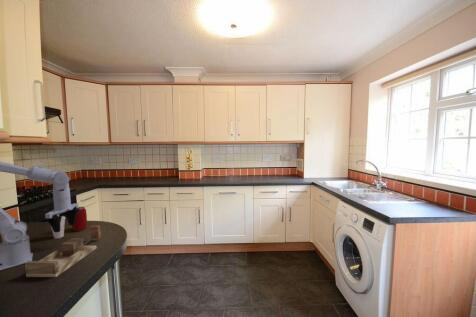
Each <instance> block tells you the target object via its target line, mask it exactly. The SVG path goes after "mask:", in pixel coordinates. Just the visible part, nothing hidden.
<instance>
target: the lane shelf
mask: <svg viewBox="0 0 476 317" xmlns="http://www.w3.org/2000/svg"><path fill="white" fill-rule="evenodd" d="M83 246H84V250H82V251H78V252H76V253H75V254H73V255H72V256H62V251H61V252H60V250H54V251H53V252H51V253H49V254H48V255H46V256H44V257H43V258H41V259H39V260H32V261H28V262H26V263H24V266H25V267H24V269H25V276H26V277H27V278H56V277H58V276H60V275H62V274H63V273H64V272H65V271H66V270H68V269H70V268H71V267H72V266H73V265H75V264H77V263H78V262H79V261H81V260H82V259H84V258H85V257H86V256H88V255H89V254H90V253H92V252H94V251H95V250H96V249H97V248H98V247H97V245H83Z"/></svg>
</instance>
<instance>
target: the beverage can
mask: <svg viewBox="0 0 476 317" xmlns="http://www.w3.org/2000/svg"><path fill="white" fill-rule="evenodd" d="M78 208H79V212H78V214H77V216H76V220H75V224H74V225H71V230H72V231H74V232H81V231H83V230H85V229H86V228H88V216H87V209H86V208H85V206H78Z"/></svg>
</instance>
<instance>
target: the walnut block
mask: <svg viewBox="0 0 476 317" xmlns="http://www.w3.org/2000/svg"><path fill="white" fill-rule="evenodd" d="M89 229H90V239H88V240H87V241H85V242H84V238H83V237H81V238H80V237H75V238H70V239H68V240H66V241H64V242H63V243H61V252H62V256H72V255H73V254H75V253H76V252H78V251H82V250H84V246H86V244H88V243H90V242H91V241H92V240H94V239H96V240H97V239H100V238H101V237H102V235H101V233H102V232H101V225H99V224H98V225H94V224H93V225H90V228H89Z"/></svg>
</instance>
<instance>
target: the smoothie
mask: <svg viewBox="0 0 476 317" xmlns="http://www.w3.org/2000/svg"><path fill="white" fill-rule="evenodd" d="M57 216H58V217H62V218H61V222H60V232H54V231H53V229H52V227H51V226H50V228H51V231H52V236H53V239H61V238H63V237H64V236H65V224H66V223H65V222H66V221H65V220H66V216H64V215H62V216H60V214H59V215H57Z"/></svg>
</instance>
